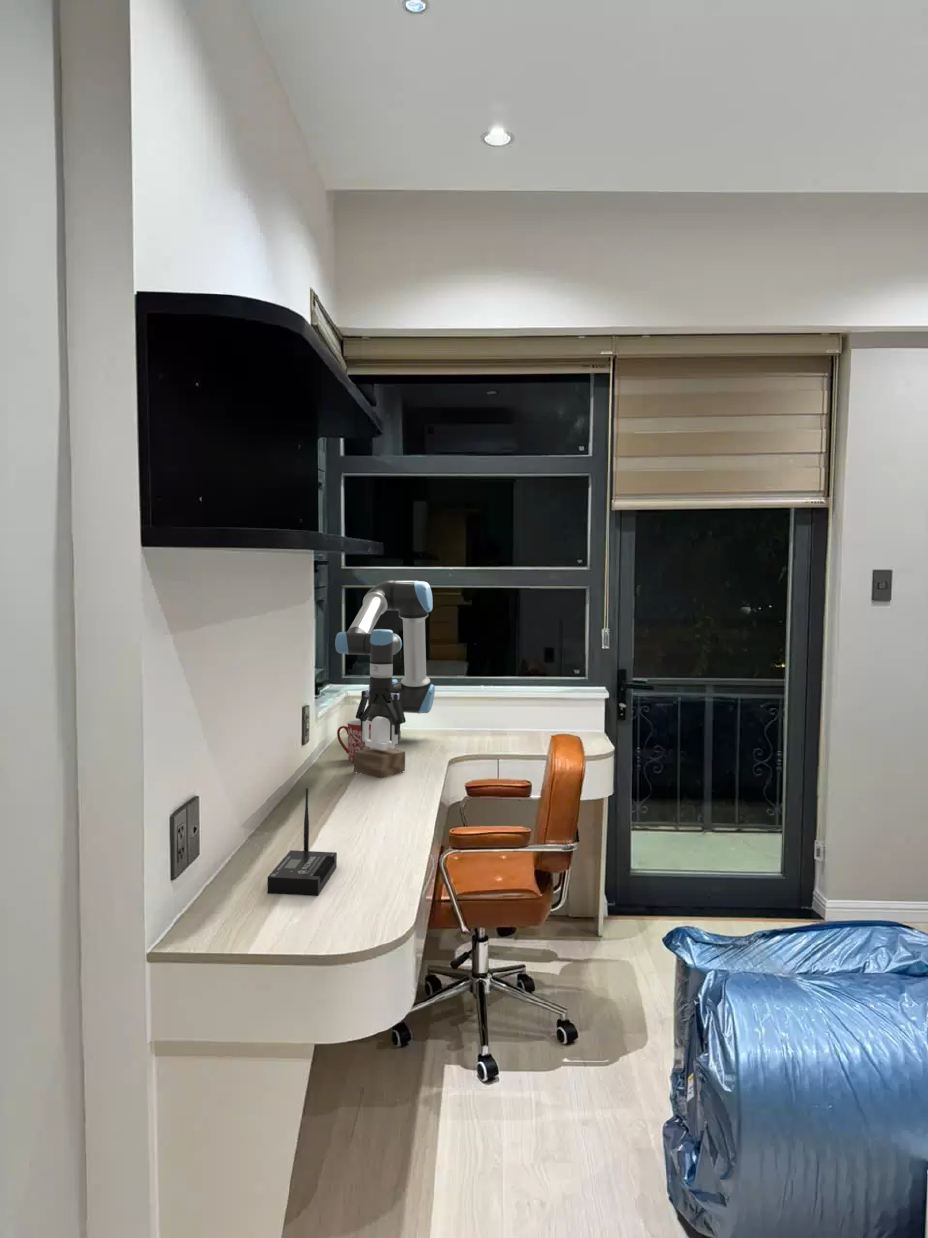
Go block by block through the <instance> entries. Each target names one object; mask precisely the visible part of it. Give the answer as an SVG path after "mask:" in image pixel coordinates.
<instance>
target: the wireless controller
mask: <svg viewBox="0 0 928 1238" xmlns="http://www.w3.org/2000/svg"><path fill="white" fill-rule="evenodd" d="M304 808H305V809H304V819H303V850H292V849H290V850H289V852H288V853H287V854H286V855H284V857H283V859H281V861H280V862H279V863H278V865H276V867H275V868H274V869H273V870H272V871H271V873H270V874H269V875H268V876H267V887H266V888H267V889H266V890H267V892H266V893H267V894H268V895H269V894H271V895H272V894H273V895H274V894H275V895H289V896H290V895H291V896H307V897H308V896H309V897H319V895H320V893H321V892H322V891H323V889H324V887H325V886H326V884H327V883H328V882H329V880H330V878H332V875H334V872H335V871H336V869H337V868H338V867H337V866H338V865H337V863H338V862H337V860H338V859H337V858H338V857H337V856H338V854H337V852H333V851H313V850H311V851H309V848H310V847H309V845H310V843H309V842H310V839H309V838H310V837H309V836H310V819H309V817H310V816H309V788H308V787H306V788H305V805H304Z"/></svg>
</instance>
